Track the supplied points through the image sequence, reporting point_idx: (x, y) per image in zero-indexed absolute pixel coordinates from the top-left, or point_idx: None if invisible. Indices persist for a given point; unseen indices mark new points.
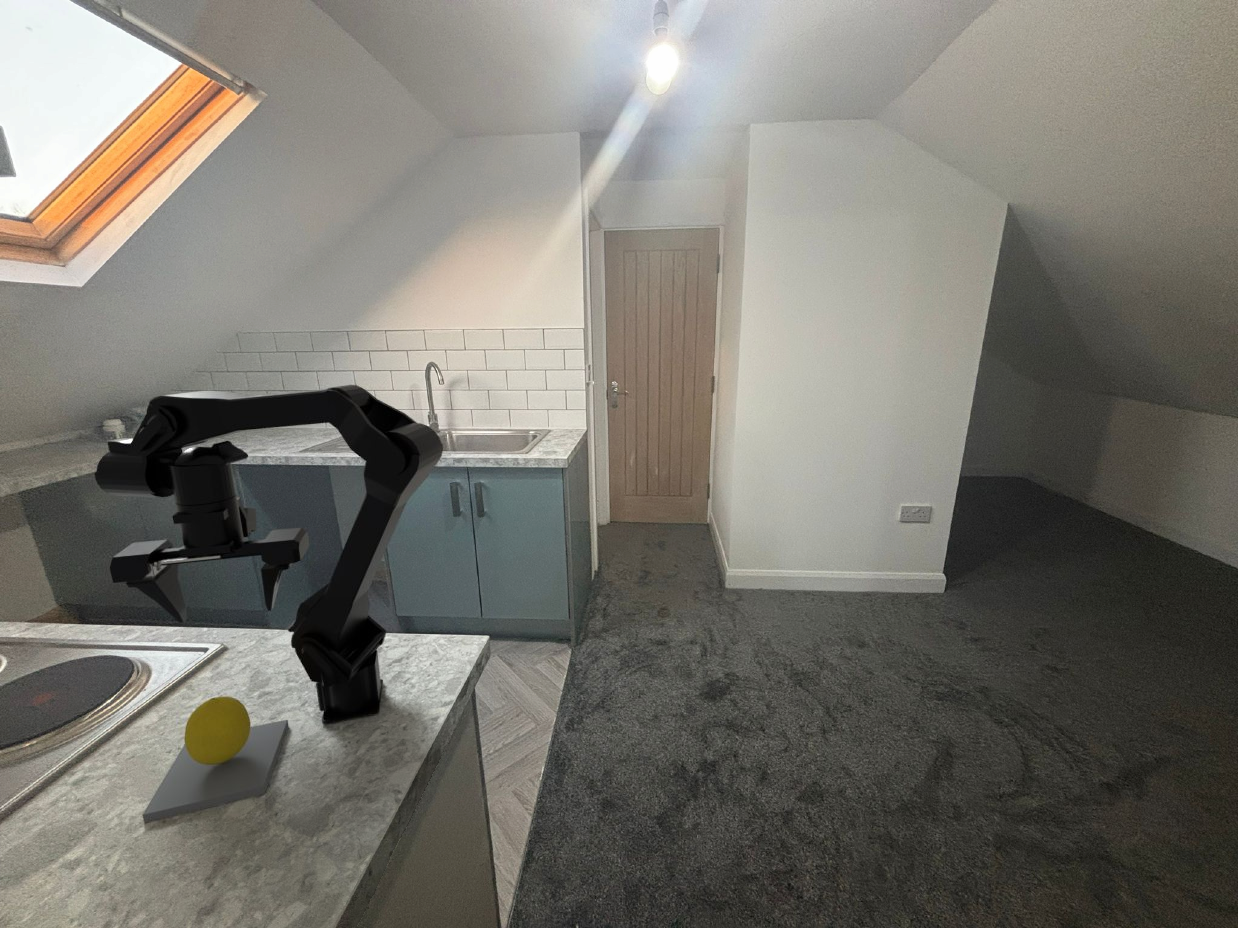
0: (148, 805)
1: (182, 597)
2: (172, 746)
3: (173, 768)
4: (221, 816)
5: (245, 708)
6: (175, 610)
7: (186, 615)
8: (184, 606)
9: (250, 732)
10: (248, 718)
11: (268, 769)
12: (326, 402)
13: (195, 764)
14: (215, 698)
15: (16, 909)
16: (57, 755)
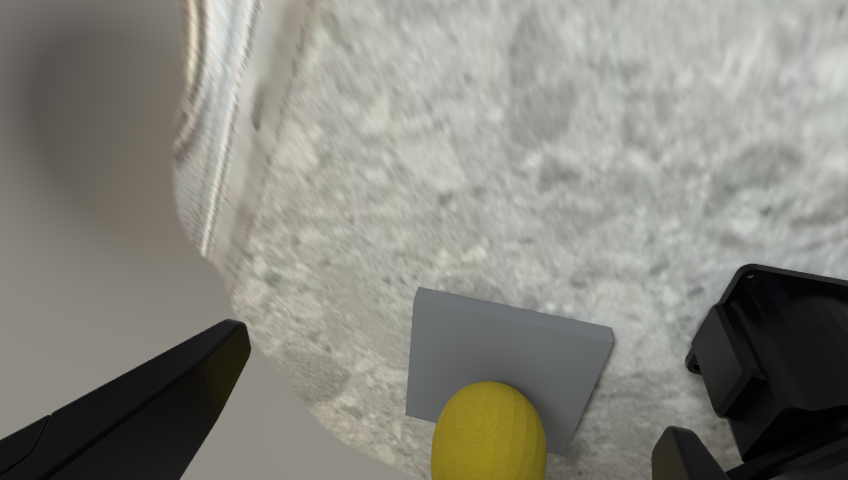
0: (406, 403)
1: (140, 420)
2: (387, 269)
3: (415, 357)
4: None
5: (540, 475)
6: (192, 457)
7: (234, 338)
8: (193, 378)
9: (535, 341)
10: (545, 468)
11: (571, 433)
12: None
13: (449, 366)
14: None
15: (330, 431)
16: (187, 191)
